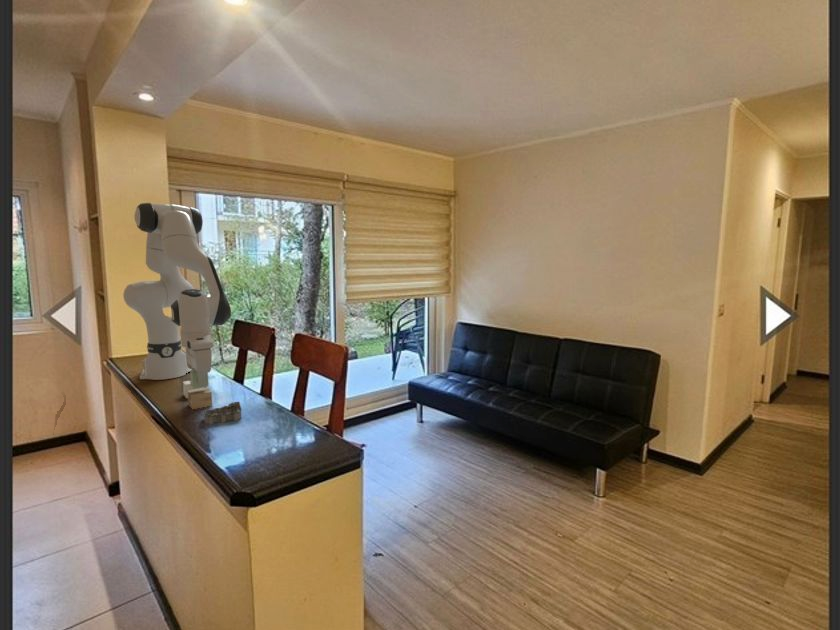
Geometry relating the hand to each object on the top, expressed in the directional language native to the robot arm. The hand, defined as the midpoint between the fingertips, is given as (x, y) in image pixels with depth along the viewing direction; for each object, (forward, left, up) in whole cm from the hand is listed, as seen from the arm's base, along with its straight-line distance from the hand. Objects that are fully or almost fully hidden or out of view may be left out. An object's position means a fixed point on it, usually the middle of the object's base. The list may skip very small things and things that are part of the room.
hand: (199, 380), depth 147 cm
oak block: (0, 0, -9) cm, 9 cm away
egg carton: (+17, +3, -9) cm, 19 cm away
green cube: (0, 0, -2) cm, 2 cm away
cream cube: (-13, 0, -9) cm, 16 cm away
